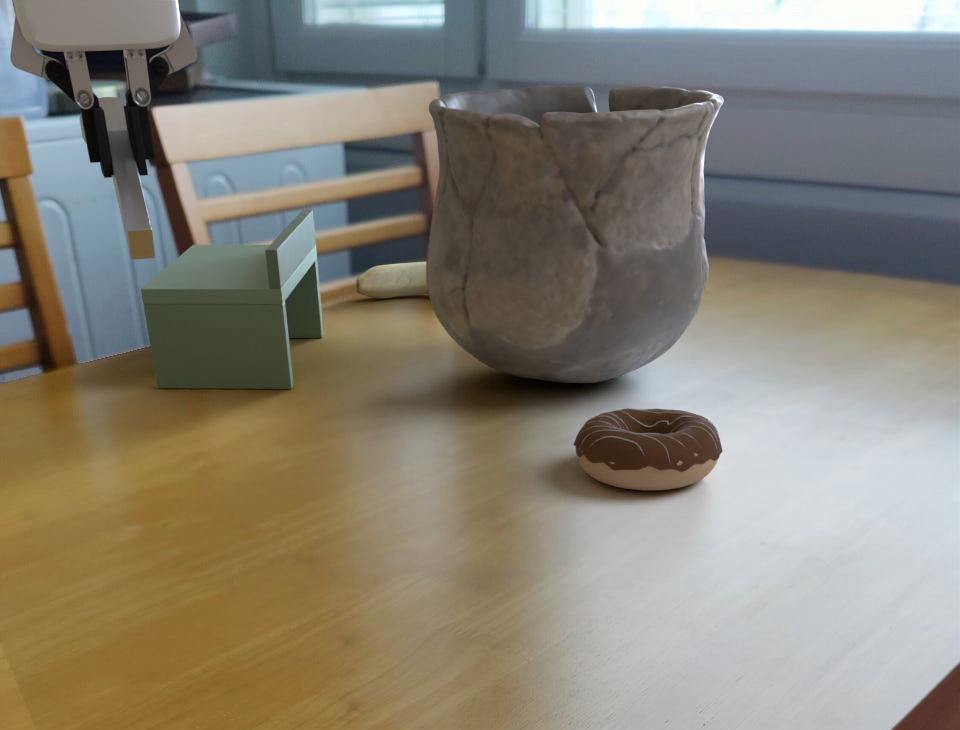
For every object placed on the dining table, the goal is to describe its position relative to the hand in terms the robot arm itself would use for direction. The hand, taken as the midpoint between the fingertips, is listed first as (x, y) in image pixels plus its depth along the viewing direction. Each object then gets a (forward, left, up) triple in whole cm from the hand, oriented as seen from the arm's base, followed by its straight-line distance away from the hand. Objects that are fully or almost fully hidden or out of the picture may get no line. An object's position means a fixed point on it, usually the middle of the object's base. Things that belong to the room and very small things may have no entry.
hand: (124, 171), depth 83 cm
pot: (+31, +20, -19) cm, 42 cm away
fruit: (+16, +47, -19) cm, 53 cm away
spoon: (0, 0, -1) cm, 1 cm away
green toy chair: (+1, +24, -19) cm, 31 cm away
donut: (+37, -5, -19) cm, 42 cm away
